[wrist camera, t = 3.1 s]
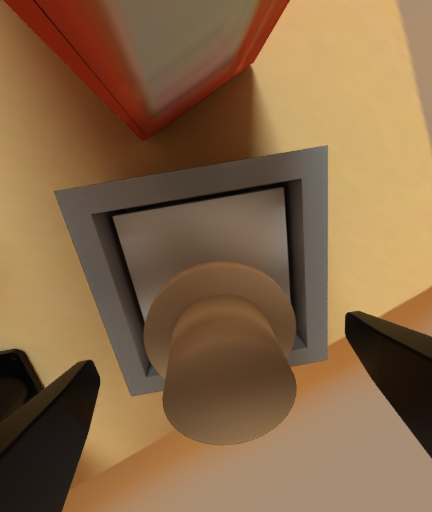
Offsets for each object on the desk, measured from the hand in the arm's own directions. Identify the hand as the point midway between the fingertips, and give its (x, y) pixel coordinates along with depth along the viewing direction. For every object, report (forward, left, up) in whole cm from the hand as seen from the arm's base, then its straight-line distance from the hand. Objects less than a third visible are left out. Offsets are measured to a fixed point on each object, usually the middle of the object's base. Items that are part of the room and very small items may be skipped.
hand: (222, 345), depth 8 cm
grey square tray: (0, 0, -10) cm, 10 cm away
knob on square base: (0, 0, -6) cm, 6 cm away
